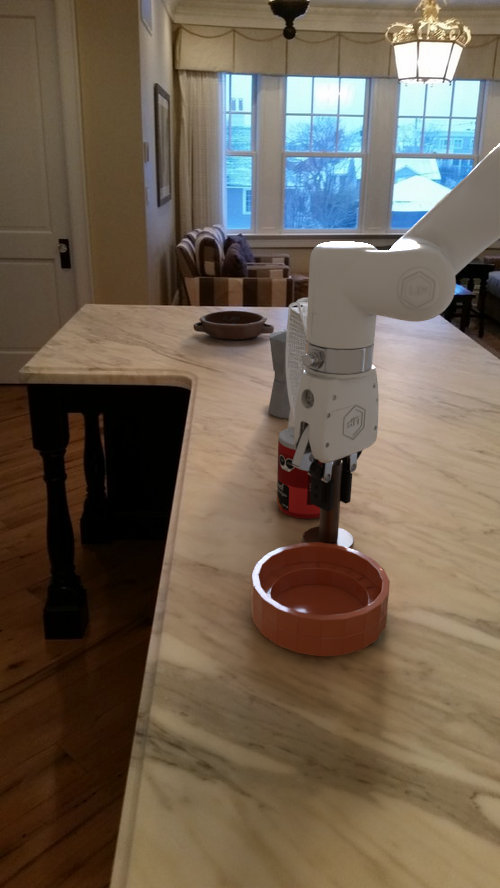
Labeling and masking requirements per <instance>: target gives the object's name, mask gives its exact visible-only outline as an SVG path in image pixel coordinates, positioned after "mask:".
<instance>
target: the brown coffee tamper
mask: <svg viewBox="0 0 500 888" xmlns="http://www.w3.org/2000/svg"><path fill="white" fill-rule="evenodd" d="M342 467H343V462H342V460H340V459H338V460H335V461H333V463H332V474H331V480H333V481H334V498H333V508H332V510H331V511H329V512H327V511H325V510H323V509H321V508H320V517H319V518H318V519H319V520H318V525H317V526H313V527H310V528H309V529H306V531H304V533H303V534H302V539H301V543H314V542H320V543H328V544H336V545H340V546H344V547H347V548H350V549H354V545H355V544H354V543H355V538H354V537H353V535H352V534H351V532H349V531H347V529H344V528H341V527H340V514H341V513H340V511H341V501H340V498H341V483H342Z"/></svg>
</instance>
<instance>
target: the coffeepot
mask: <svg viewBox="0 0 500 888" xmlns="http://www.w3.org/2000/svg"><path fill="white" fill-rule="evenodd" d="M286 334H287V328H286V329H285V328H284V329H277V330H276V331H273V333H269V344H270V345H269V346H270V352H271V362H272V368H273V371H274V378H273V383H272V388H271V393H270V398H269V403H268V404H269V405H268V413H269V414H270V415H272V416H273V417H276V418H280V419H284V420H289V414H290V403H289V397H288V390H287V381H286V365H285V364H286ZM289 345H290V344H289Z"/></svg>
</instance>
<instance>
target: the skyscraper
mask: <svg viewBox="0 0 500 888" xmlns="http://www.w3.org/2000/svg"><path fill="white" fill-rule="evenodd" d="M294 306H297V307H294ZM307 311H308V297H301V298H298V299H297V300H296V301H295V302H294V301H293V302H291V303H290V304H289V305H288V311H287V312H288V313H287V324H286V329H287V334H286V364H285V365H286V381H287V390H288V397H289V403H290V414H289V419H288V420H287V421H288V422H287V427H286V429H288V428H292V427H295V414H296V405H297V398H298V392H299V387H300V382H301V377H302V373H303V371H304V370H305V365H304V364H303V356H304V355H306V335H307ZM289 344H290V345H289Z"/></svg>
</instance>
